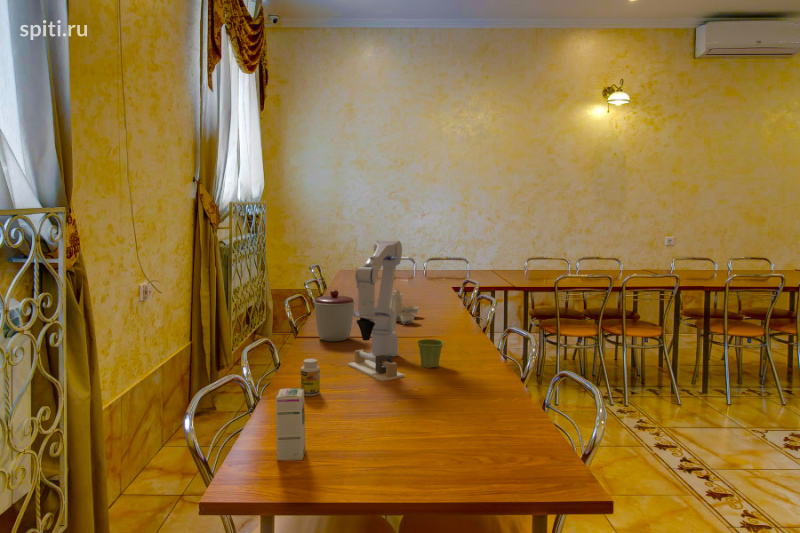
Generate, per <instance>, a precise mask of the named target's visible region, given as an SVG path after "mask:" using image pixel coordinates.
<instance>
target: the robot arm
mask: <svg viewBox="0 0 800 533" xmlns="http://www.w3.org/2000/svg"><path fill="white" fill-rule="evenodd" d="M373 244H374V245H373V255H370V256H369V257H368V258H367V259H366V260H365V262H364V264H363V265H362V266H359V267H357V269H356V270H355V277H354V279H355V281H356V282H355V283H356V288H357V289H358V290H357V292H358V293H357V296H358V297H357V303H358V304H357V310H353V318H358V319H357V320H356V324H357V325H358V328H359V329H360V330H359V331H360V334H361V339H362V341H370V340H371V352H368V354H370V355H373V356H375V357H376V356H379V355H385V354H390V355H393V357H397V356H400V354H399V337H398V334H397V333H396V332H395V331H396V326H397V322H396V314H395V312H394V311H393V310H392V309H391V308H390V303H391V295H392V293H393V289H394V288H393V287H394V280H395V272H396V267H397V266H399V265H400V264H401V260H402V253H403V246H402V242H401V241H400V240H379V239H377V240H376V241H375V242H374V243H373ZM381 268H382V272H381V279H380V285H379V292H378V299H377V305H375V302H376V301H375V299H376V298H375V297H376V296H375V294H376V283H377V280H378V276H379V272H380V270H381Z"/></svg>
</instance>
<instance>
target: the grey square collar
mask: <svg viewBox="0 0 800 533" xmlns="http://www.w3.org/2000/svg"><path fill="white" fill-rule="evenodd" d="M393 358H394V356H393V355H390V354H385V355H379V356H376V372H378V373H383V372H386V367H382V360H386V361H387V362H390V363H393V362H394V360H393Z"/></svg>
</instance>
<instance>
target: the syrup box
mask: <svg viewBox="0 0 800 533" xmlns="http://www.w3.org/2000/svg"><path fill="white" fill-rule="evenodd" d="M305 414H306V413H305V396H304V389H301V387H300V388H299V387H298V388H297V387H290V388H289V387H288V388H280V389H278V392H277V393H276V396H275V426H276V428H275V432H276V435H275V436H276V437H275V438H276V460H277V461H303V458H304V455H305V452H306V421H305V420H306V417H305Z"/></svg>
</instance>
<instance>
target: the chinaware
mask: <svg viewBox="0 0 800 533" xmlns="http://www.w3.org/2000/svg"><path fill="white" fill-rule="evenodd" d="M402 299H403V293H401V292H400V291H399V289H398V288H395V290H394V291H392V295H391V303H390V308H391V309H392V310H393V311H394V312H395V314H396V321H401V322H400V323H401V324H403V325H405V324H409V323H410V324H411V323H412V322H413V321H414V320H415V317H416V315H417V314H418V311H419V309H420V308H419V306H413V305H409V306H403V300H402Z"/></svg>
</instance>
